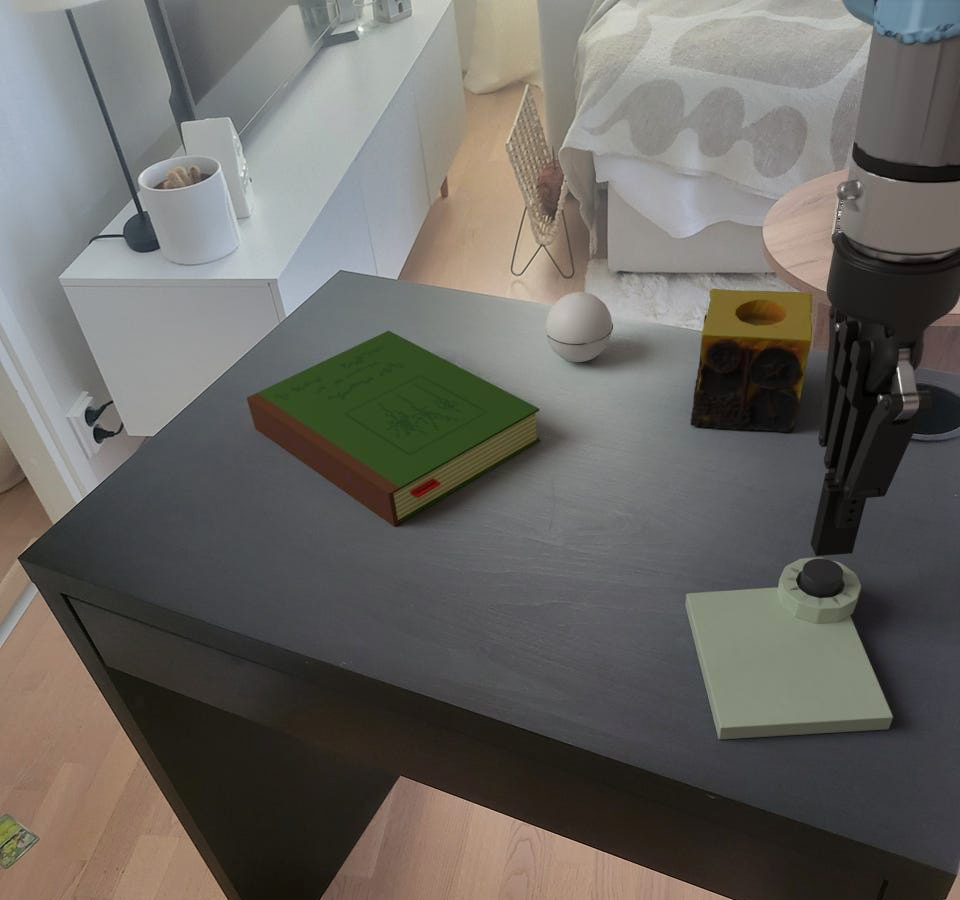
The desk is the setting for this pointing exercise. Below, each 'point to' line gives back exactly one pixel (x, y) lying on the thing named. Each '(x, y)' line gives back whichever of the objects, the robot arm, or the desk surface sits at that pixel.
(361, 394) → the hardcover book
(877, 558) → the desk surface
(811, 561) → the button
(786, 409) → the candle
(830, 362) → the robot arm
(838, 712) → the scale
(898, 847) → the desk surface
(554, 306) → the white ball
